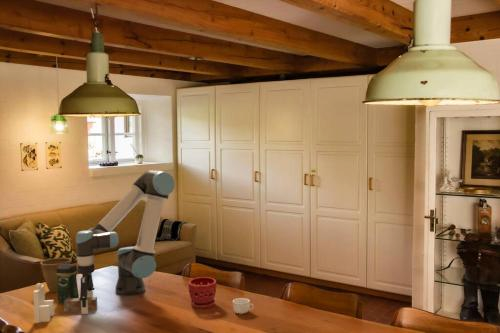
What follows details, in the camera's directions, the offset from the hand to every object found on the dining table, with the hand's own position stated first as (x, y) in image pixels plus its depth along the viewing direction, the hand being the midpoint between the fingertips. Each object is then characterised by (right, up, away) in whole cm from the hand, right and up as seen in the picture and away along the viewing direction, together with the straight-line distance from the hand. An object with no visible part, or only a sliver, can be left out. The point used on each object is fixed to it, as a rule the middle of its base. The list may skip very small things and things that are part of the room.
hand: (87, 308), depth 239 cm
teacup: (+74, +1, -9) cm, 74 cm away
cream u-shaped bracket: (-16, -1, -11) cm, 19 cm away
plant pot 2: (+54, +1, +2) cm, 54 cm away
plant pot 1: (-26, +1, +30) cm, 40 cm away
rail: (-3, 0, 0) cm, 3 cm away
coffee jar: (-14, 0, +12) cm, 18 cm away
